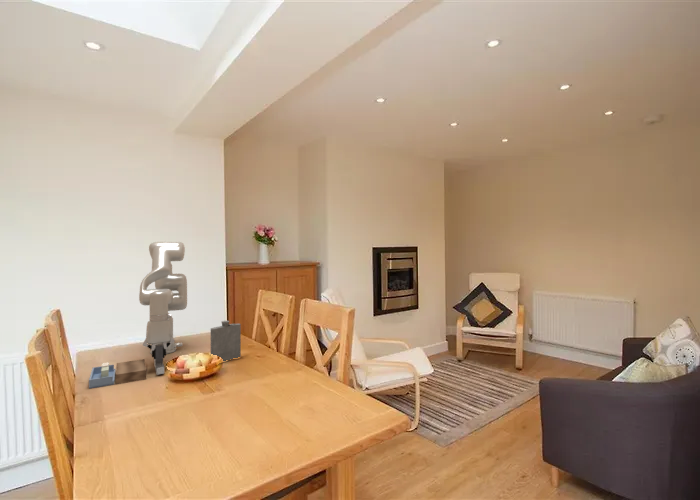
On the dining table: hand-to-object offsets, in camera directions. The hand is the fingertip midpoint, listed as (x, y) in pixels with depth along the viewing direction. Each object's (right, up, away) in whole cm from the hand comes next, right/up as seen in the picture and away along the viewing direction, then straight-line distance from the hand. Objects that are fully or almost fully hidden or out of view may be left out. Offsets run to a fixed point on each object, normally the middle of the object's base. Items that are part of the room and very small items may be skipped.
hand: (159, 357), depth 165 cm
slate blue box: (-18, -6, -11) cm, 22 cm away
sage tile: (-14, -3, -13) cm, 20 cm away
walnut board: (-9, -6, -6) cm, 13 cm away
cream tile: (-18, -3, -7) cm, 20 cm away
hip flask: (+26, -6, +15) cm, 30 cm away
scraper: (0, -5, 0) cm, 5 cm away
